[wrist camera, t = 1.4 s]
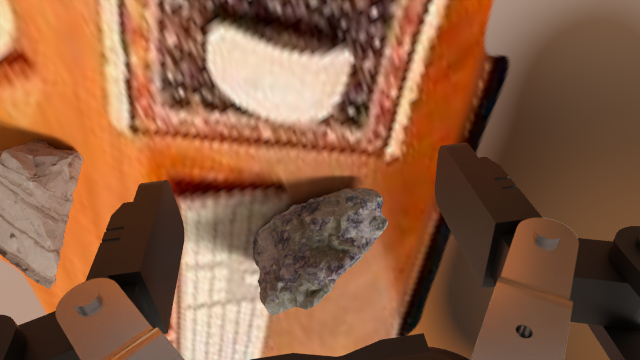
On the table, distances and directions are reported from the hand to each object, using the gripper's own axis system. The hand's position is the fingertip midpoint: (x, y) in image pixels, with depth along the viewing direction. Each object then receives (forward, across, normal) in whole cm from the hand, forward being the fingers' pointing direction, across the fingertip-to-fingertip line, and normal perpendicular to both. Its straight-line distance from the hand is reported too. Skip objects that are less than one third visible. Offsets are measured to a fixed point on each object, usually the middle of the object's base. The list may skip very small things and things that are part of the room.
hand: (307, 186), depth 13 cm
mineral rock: (+24, -1, +23) cm, 33 cm away
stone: (+24, +23, +14) cm, 36 cm away
